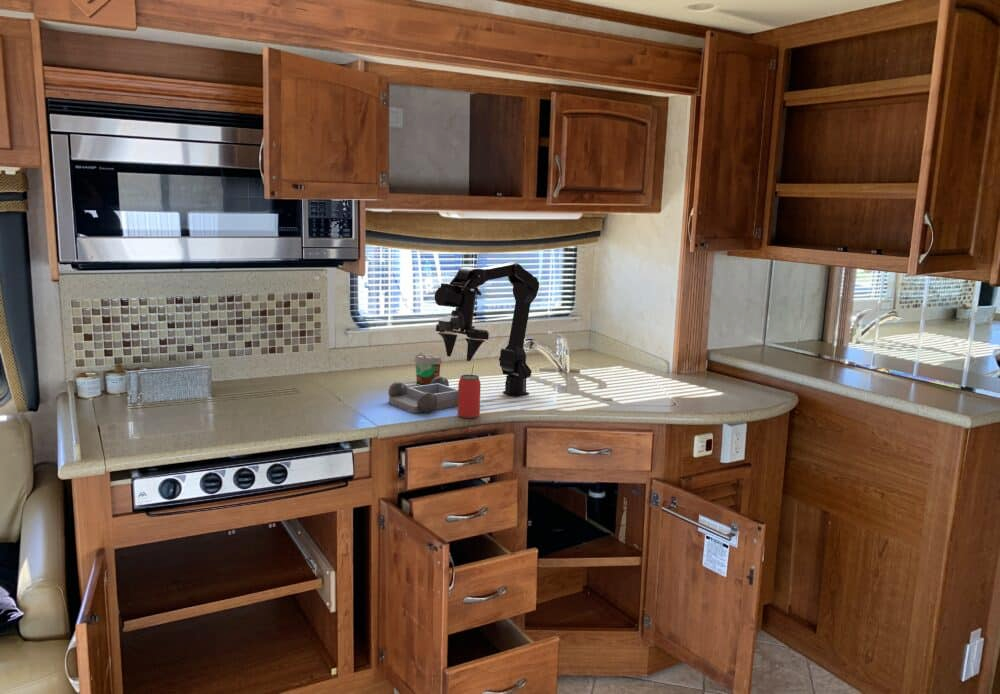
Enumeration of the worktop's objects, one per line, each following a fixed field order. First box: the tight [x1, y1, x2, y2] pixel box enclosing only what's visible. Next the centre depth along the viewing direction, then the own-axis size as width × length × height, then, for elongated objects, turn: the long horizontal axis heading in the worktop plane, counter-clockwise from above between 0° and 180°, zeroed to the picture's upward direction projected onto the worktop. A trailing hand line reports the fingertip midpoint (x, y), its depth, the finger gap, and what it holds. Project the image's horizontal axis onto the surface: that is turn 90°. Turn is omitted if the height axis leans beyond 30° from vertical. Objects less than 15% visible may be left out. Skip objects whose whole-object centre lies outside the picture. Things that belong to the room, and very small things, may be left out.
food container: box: [413, 352, 443, 386], centre depth 271 cm, size 12×6×10 cm, turn 40°
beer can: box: [457, 374, 482, 419], centre depth 233 cm, size 7×7×12 cm
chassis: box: [387, 375, 458, 414], centre depth 247 cm, size 24×18×6 cm
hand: (458, 358), depth 242 cm, fingers open, 9 cm apart
